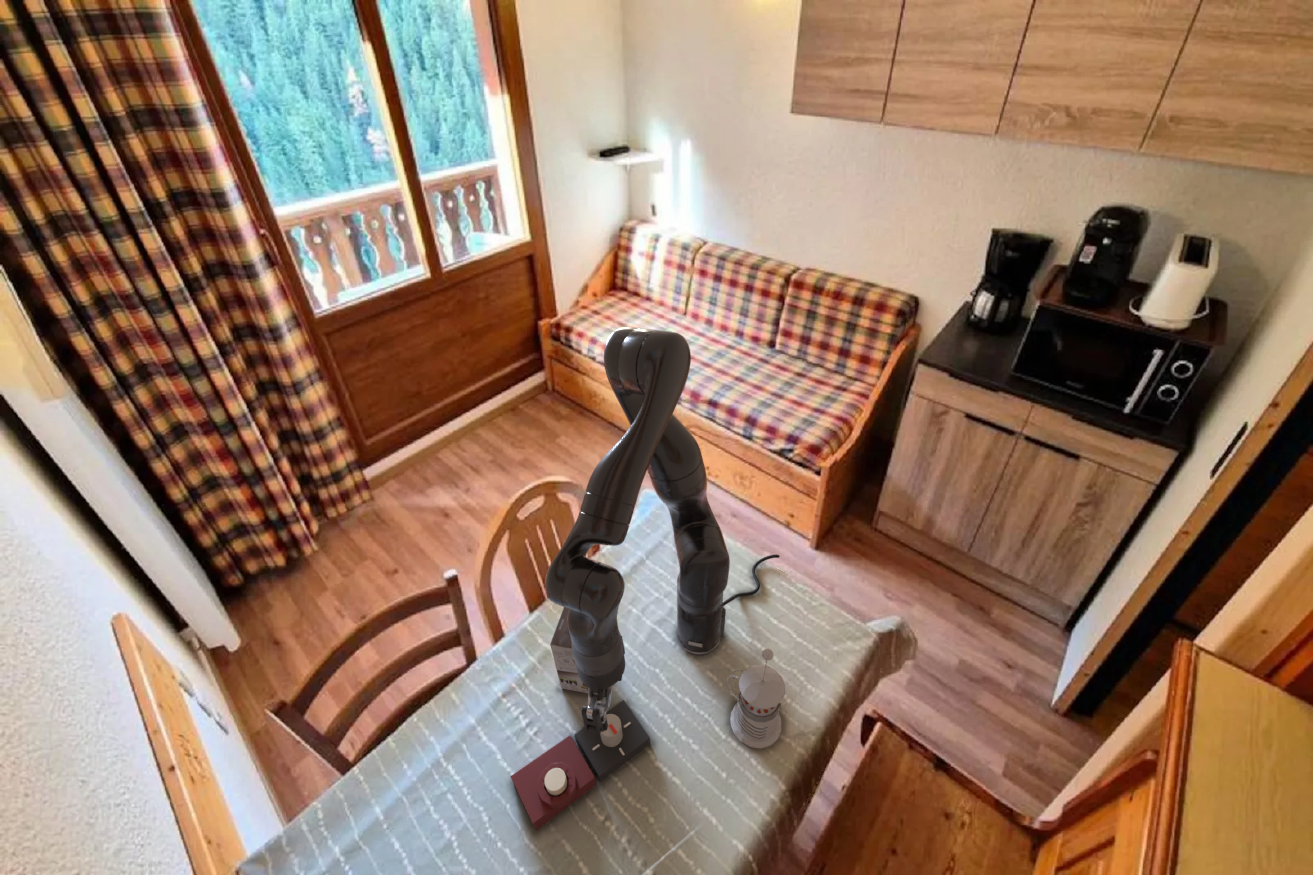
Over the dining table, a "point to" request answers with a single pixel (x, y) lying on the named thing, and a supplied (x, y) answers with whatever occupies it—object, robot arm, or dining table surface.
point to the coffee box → (566, 657)
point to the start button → (555, 781)
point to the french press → (758, 704)
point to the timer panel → (614, 757)
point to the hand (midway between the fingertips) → (608, 702)
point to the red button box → (533, 781)
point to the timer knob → (612, 731)
